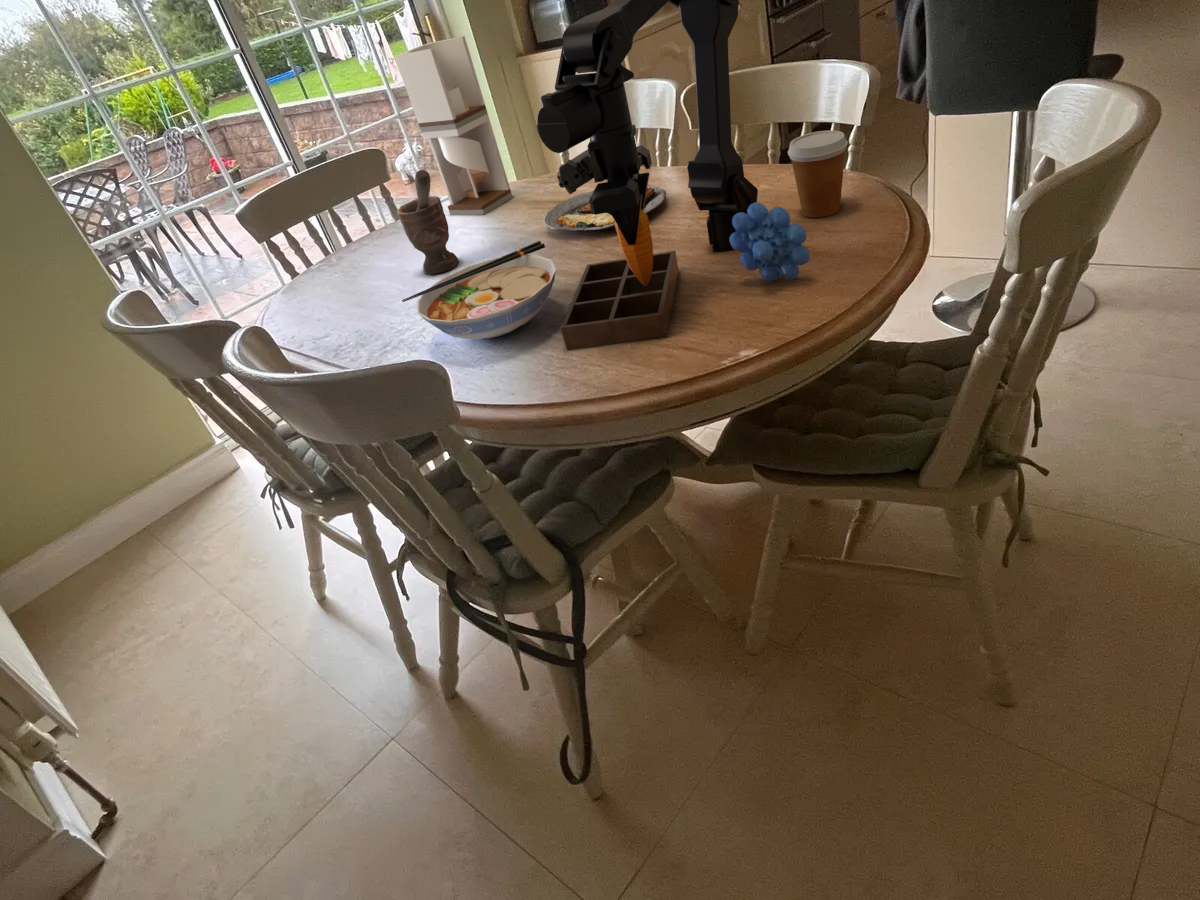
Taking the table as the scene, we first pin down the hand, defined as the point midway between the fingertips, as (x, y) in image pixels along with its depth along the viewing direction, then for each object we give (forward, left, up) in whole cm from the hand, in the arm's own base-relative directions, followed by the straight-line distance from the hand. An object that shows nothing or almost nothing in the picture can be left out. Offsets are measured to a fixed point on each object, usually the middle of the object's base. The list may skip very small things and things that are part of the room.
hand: (634, 236), depth 108 cm
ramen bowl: (+25, +1, -11) cm, 27 cm away
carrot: (0, +1, -8) cm, 8 cm away
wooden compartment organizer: (+4, 0, -11) cm, 12 cm away
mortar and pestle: (+45, -29, -11) cm, 55 cm away
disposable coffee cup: (-27, -27, -11) cm, 40 cm away
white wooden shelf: (+49, -66, -11) cm, 83 cm away
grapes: (-18, -1, -11) cm, 22 cm away
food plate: (+14, -43, -11) cm, 47 cm away
